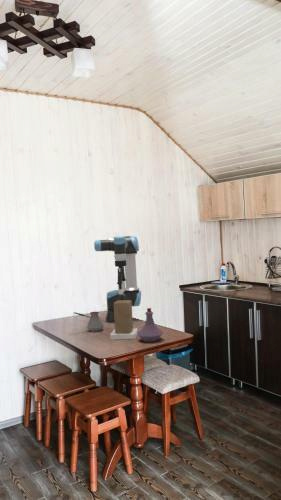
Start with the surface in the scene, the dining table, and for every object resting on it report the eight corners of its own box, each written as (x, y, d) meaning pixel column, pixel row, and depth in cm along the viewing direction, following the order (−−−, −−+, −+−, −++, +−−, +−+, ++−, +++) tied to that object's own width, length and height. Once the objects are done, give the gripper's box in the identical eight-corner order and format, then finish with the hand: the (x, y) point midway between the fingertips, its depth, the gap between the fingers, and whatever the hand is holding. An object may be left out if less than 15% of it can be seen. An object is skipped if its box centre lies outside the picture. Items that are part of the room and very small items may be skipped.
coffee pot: (100, 327, 314) (98, 307, 313) (106, 330, 304) (104, 309, 303) (71, 332, 305) (70, 311, 304) (76, 335, 294) (75, 313, 294)
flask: (169, 339, 272) (167, 307, 271) (150, 345, 261) (149, 312, 260) (150, 335, 284) (148, 305, 283) (132, 341, 273) (130, 309, 272)
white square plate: (114, 333, 295) (113, 329, 295) (137, 332, 293) (137, 328, 293) (110, 339, 279) (110, 335, 279) (135, 338, 277) (135, 334, 277)
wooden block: (130, 333, 280) (128, 302, 279) (115, 333, 282) (113, 302, 281) (133, 329, 290) (131, 300, 289) (118, 329, 292) (117, 300, 291)
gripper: (117, 258, 296) (118, 289, 298) (111, 262, 272) (113, 295, 273) (128, 258, 296) (129, 289, 297) (123, 261, 271) (125, 295, 272)
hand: (122, 292), depth 285 cm, fingers open, 13 cm apart
